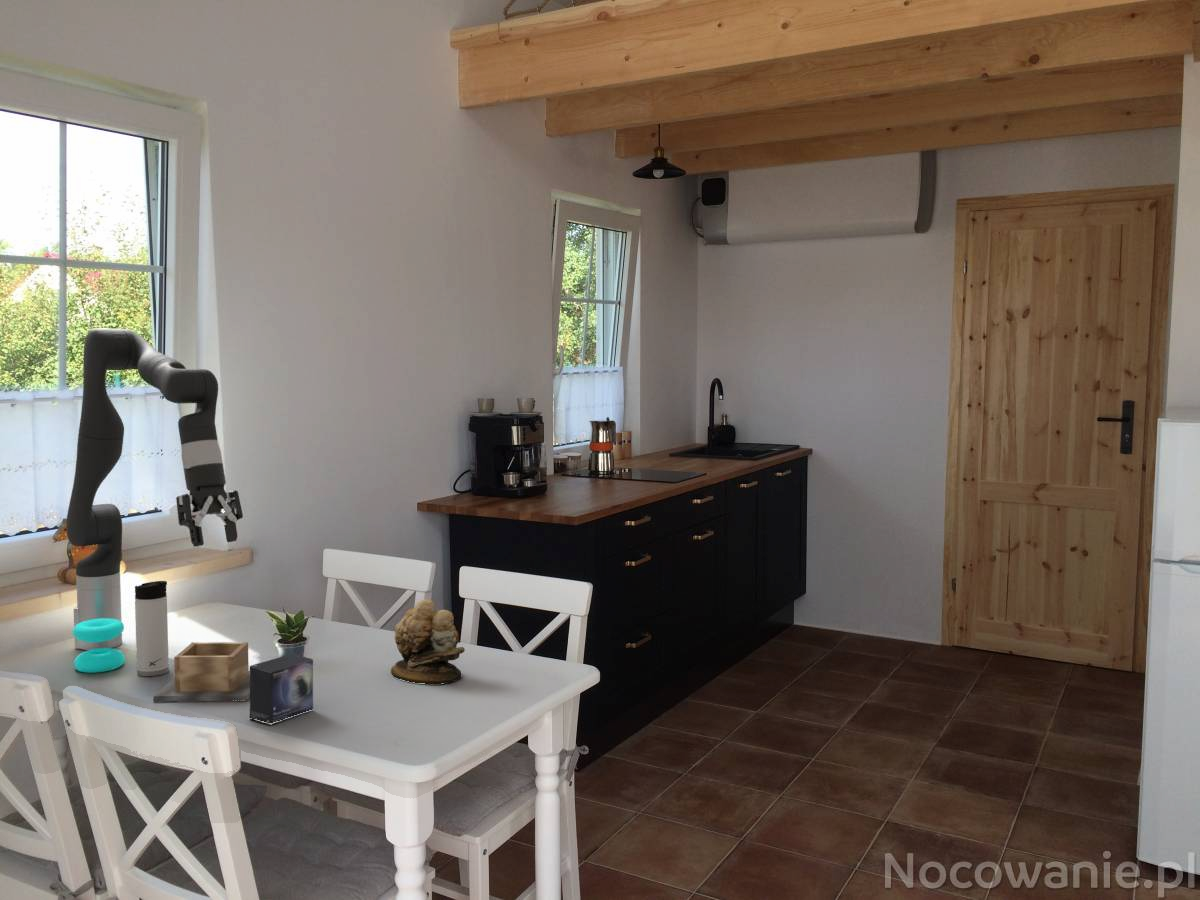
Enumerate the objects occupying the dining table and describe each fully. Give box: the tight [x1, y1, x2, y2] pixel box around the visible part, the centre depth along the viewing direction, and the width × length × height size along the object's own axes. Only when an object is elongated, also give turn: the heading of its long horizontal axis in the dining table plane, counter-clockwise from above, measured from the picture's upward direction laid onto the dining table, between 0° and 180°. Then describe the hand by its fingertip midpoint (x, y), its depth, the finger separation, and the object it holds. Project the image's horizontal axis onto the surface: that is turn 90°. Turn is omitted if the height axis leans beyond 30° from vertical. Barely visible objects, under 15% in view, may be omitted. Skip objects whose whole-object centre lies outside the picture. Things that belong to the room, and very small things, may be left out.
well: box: [152, 641, 250, 702], centre depth 208 cm, size 18×16×8 cm
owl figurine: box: [390, 598, 465, 684], centre depth 218 cm, size 18×12×17 cm, turn 62°
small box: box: [248, 653, 314, 723], centre depth 193 cm, size 11×6×10 cm, turn 148°
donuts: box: [72, 618, 126, 674], centre depth 222 cm, size 10×10×10 cm
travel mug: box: [134, 580, 170, 677], centre depth 218 cm, size 6×7×20 cm
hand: (215, 543), depth 205 cm, fingers open, 8 cm apart
